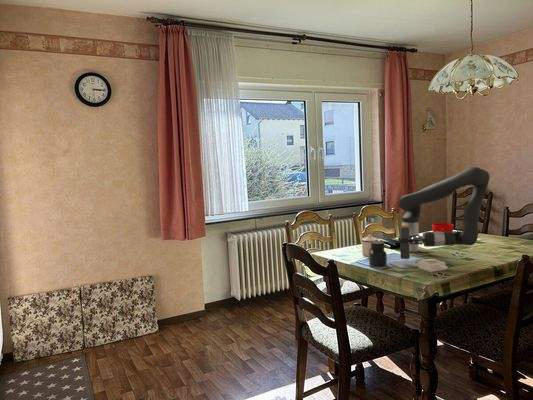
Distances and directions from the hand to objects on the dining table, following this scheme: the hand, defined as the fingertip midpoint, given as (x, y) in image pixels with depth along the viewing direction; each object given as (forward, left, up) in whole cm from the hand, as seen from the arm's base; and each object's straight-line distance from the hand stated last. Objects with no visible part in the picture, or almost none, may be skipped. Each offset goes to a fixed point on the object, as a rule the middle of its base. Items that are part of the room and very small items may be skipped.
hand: (399, 240), depth 214 cm
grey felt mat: (+1, +2, -13) cm, 13 cm away
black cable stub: (+1, +3, -9) cm, 10 cm away
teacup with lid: (-27, 0, -13) cm, 30 cm away
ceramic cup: (-41, +62, -13) cm, 76 cm away
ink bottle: (-5, -10, -13) cm, 17 cm away
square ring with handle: (+16, +9, -13) cm, 23 cm away
